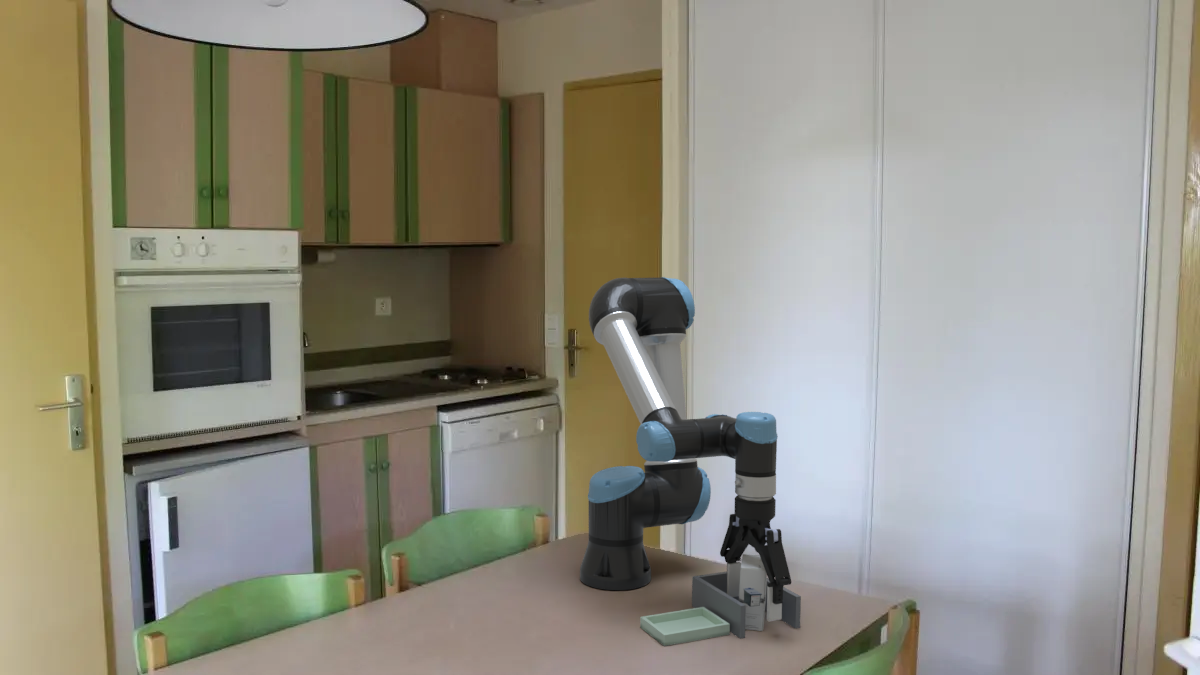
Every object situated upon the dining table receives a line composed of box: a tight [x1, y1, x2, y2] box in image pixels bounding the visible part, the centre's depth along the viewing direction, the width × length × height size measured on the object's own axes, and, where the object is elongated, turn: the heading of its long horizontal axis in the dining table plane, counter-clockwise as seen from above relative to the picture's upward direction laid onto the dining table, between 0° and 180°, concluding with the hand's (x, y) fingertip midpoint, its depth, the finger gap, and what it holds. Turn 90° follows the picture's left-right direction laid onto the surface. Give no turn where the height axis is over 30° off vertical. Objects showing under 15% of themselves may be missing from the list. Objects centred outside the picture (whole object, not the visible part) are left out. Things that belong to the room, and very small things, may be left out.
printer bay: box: [691, 570, 802, 640], centre depth 181 cm, size 18×13×6 cm
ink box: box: [739, 553, 768, 632], centre depth 179 cm, size 9×5×12 cm, turn 168°
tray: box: [639, 607, 731, 647], centre depth 174 cm, size 9×13×2 cm
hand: (753, 607), depth 179 cm, fingers open, 13 cm apart
